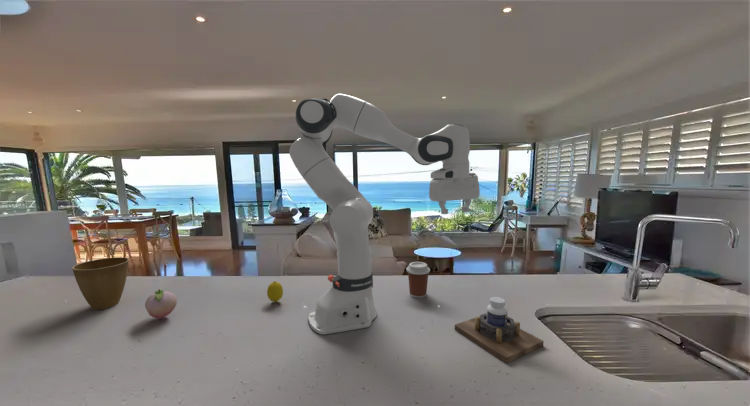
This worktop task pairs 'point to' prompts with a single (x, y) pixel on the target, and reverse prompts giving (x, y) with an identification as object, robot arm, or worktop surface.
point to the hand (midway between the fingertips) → (455, 213)
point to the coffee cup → (418, 279)
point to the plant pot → (102, 281)
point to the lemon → (275, 291)
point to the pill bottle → (497, 313)
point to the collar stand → (499, 338)
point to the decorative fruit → (160, 304)
